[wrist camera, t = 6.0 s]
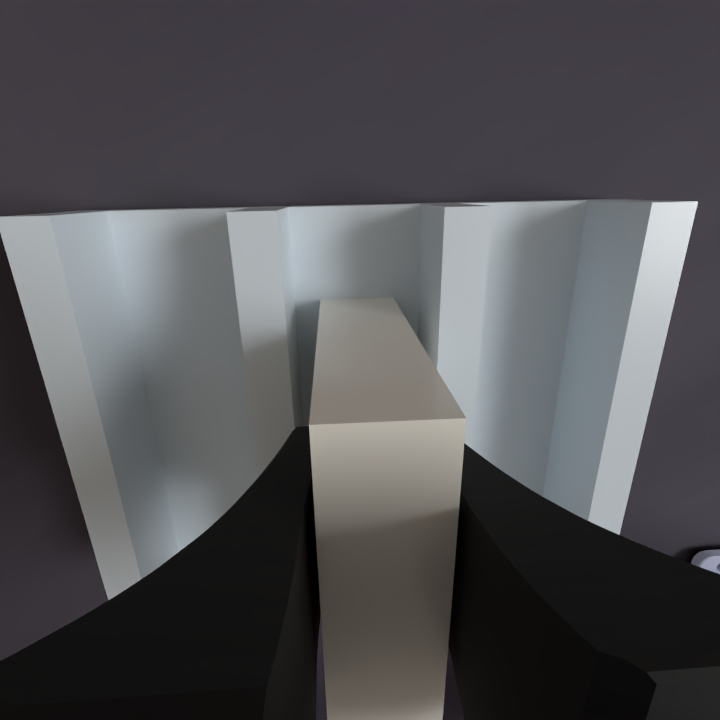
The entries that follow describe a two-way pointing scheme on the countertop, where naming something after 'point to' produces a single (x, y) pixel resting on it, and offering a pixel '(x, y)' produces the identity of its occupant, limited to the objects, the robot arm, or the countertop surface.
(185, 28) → the countertop surface
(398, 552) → the cream tile
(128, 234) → the drying rack
